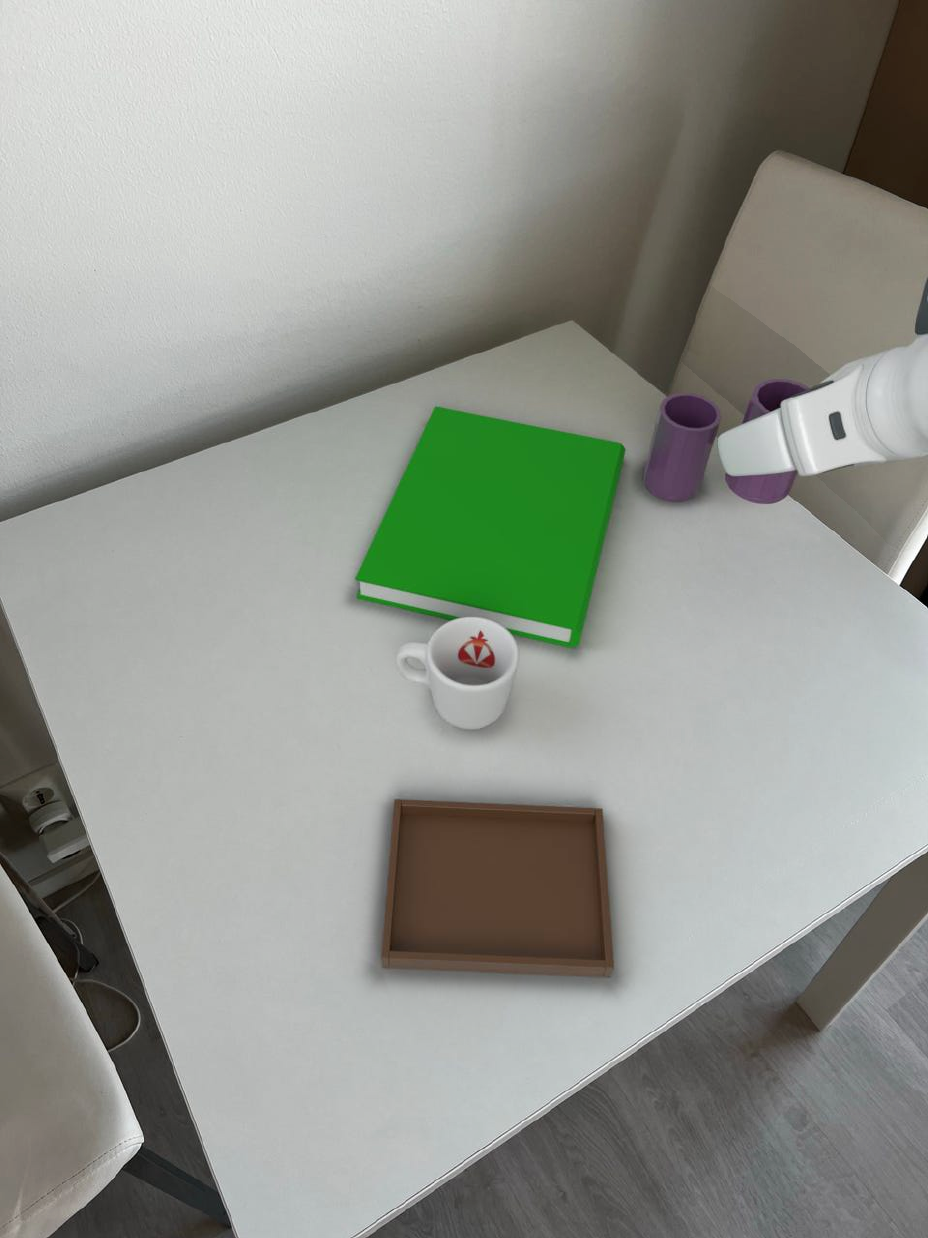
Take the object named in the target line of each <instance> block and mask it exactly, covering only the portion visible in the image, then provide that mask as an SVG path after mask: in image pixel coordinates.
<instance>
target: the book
mask: <svg viewBox="0 0 928 1238" xmlns="http://www.w3.org/2000/svg"><path fill="white" fill-rule="evenodd" d="M625 454H626V448H625V446H624V445H623V442H617V441H612V440H607V439H602V438H598V437H593V436H586V435H582V434H577V433H571V432H566V431H562V430H557V429H551V428H546V427H542V426H537V425H532V424H528V423H522V422H517V421H511V420H508V419H507V420H506V419H501V418H496V417H492V416H491V417H490V416H486V415H482V414H476V413H471V412H468V411H467V412H466V411H462V410H457V409H451V408H447V407H443V406H442V407H441V406H436V405H435V406H434V408H433V410H432V411H431V414H430V417H429V418H428V421H427V423H426V425H425V427H424V429H423V431H422V434H421V436H420V438H419V439H418V442H417V445H416V447H415V449H414V451H413V453H412V455H411V457H410V460H409V462H408V464H407V466H406V468H405V470H404V473H403V475H402V477H401V479H400V481H399V483H398V485H397V488H396V490H395V491H394V494H393V496H392V498H391V501H390V502H389V504H388V506H387V509H386V511H385V513H384V515H383V518H382V519H381V521H380V524H379V525H378V528H377V530H376V532H375V535H374V537H373V539H372V541H371V543H370V545H369V547H368V550H367V551H366V554H365V555H364V556H365V557H364V558H363V561H362V563H361V565H360V568H359V569H358V571H357V573H356V575H355V579H354V580H355V581H357V582H359V590H358V592H357V595H356V599H358V600H362V601H366V602H371V603H375V604H379V605H383V606H388V607H393V608H397V609H402V610H406V611H409V612H414V613H419V614H421V615H422V614H423V615H427V616H432V617H435V618H440V619H445V620H449V621H451V620H454V619H458V618H463V617H481V618H486V619H489V620H492V621H494V622H496V623H498V624H500V625H502V626H503V627H504V628H506V629H507V630H508V631H509V632H510V633H511V634H512V636H519V637H522V638H526V639H531V640H535V641H540V642H544V643H549V644H552V645H557V646H562V647H566V648H569V649H573V648H575V647H577V646H579V645H580V641H581V638H582V634H583V630H584V625H585V621H586V617H587V612H588V609H589V604H590V601H591V596H592V591H593V588H594V585H595V579H596V575H597V571H598V567H599V564H600V563H599V562H600V558H601V554H602V549H603V546H604V542H605V538H606V534H607V530H608V526H609V522H610V518H611V517H610V516H611V514H612V509H613V505H614V501H615V496H616V492H617V489H618V484H619V480H620V477H621V472H622V469H623V468H622V467H623V463H624V459H625Z"/></svg>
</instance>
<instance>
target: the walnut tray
mask: <svg viewBox="0 0 928 1238" xmlns="http://www.w3.org/2000/svg"><path fill="white" fill-rule="evenodd" d="M393 800H394V801H393V813H392V821H391V822H392V823H391V837H390V845H389V860H388V871H387V883H386V892H385V893H386V895H385V904H384V905H385V906H384V919H383V930H382V942H381V952H380V963H381V964H380V965H381V968H382V969H401V970H402V969H404V970H422V971H423V970H424V971H426V970H427V971H449V972H472V973H490V974H491V973H493V974H516V975H517V974H518V975H536V976H537V975H540V976H541V975H542V976H565V977H586V978H606V979H607V978H611V975H612V973H613V970H615V962H614V950H613V949H614V948H613V937H612V935H613V934H612V923H611V922H612V921H611V909H610V908H611V907H610V895H609V880H608V866H607V865H608V864H607V852H606V840H605V826H604V812H603V811H604V810H603V808H602V807H596V808H595V807H577V806H558V805H557V806H556V805H555V806H554V805H535V804H533V805H532V804H513V803H511V804H510V803H494V802H493V803H490V802H489V803H488V802H469V801H449V800H448V801H445V800H423V799H406V798H405V799H401V798H395V799H393Z"/></svg>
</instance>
